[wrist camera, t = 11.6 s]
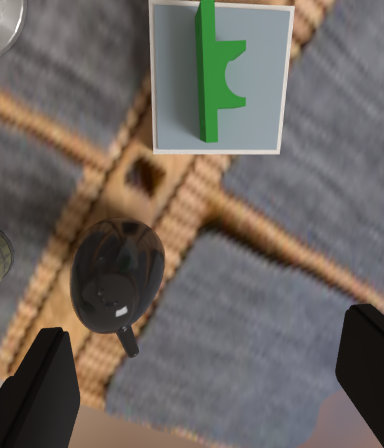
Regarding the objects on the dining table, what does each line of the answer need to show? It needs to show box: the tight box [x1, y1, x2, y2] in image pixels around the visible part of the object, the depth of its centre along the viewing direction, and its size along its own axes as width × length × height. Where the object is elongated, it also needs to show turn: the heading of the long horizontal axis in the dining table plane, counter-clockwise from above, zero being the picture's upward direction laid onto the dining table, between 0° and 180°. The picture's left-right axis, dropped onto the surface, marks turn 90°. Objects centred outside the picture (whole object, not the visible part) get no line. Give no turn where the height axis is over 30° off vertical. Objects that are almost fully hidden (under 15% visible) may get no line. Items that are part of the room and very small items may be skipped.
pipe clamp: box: [195, 0, 246, 143], centre depth 28 cm, size 11×4×5 cm, turn 3°
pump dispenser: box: [70, 217, 165, 358], centre depth 31 cm, size 10×10×15 cm
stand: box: [149, 0, 295, 154], centre depth 32 cm, size 14×14×3 cm
